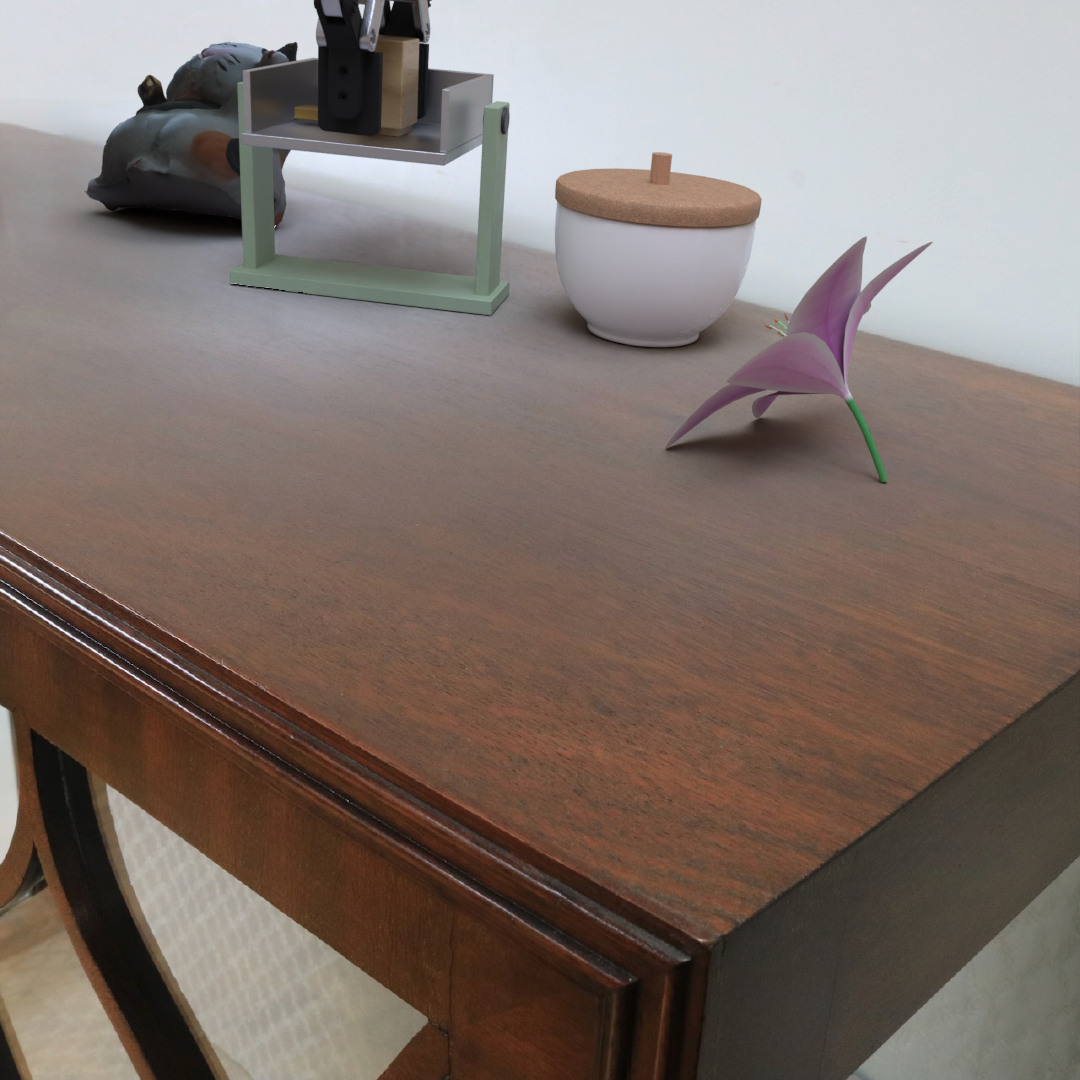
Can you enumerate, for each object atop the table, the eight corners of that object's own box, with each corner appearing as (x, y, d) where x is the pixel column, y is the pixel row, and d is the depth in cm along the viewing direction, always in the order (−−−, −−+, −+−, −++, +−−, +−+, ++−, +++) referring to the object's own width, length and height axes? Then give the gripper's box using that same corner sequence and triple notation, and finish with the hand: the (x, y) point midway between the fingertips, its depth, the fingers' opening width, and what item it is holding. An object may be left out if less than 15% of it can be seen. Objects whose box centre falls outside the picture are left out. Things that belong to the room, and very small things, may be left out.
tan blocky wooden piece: (417, 131, 69) (419, 38, 67) (401, 137, 66) (403, 41, 64) (307, 119, 69) (306, 28, 67) (286, 126, 67) (285, 30, 65)
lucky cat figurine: (68, 201, 86) (123, 13, 87) (229, 264, 93) (280, 88, 93) (120, 174, 74) (185, -46, 74) (303, 249, 80) (361, 46, 81)
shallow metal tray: (356, 108, 81) (357, 49, 79) (518, 124, 79) (521, 64, 78) (241, 144, 64) (239, 70, 62) (444, 165, 62) (447, 90, 61)
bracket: (262, 265, 74) (258, 75, 70) (508, 294, 72) (520, 101, 68) (229, 284, 70) (222, 83, 65) (490, 315, 68) (502, 110, 63)
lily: (884, 433, 58) (815, 240, 56) (1070, 421, 47) (992, 181, 45) (673, 539, 55) (593, 335, 53) (821, 553, 44) (726, 297, 42)
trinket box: (684, 302, 74) (705, 139, 70) (778, 356, 65) (807, 172, 61) (517, 307, 70) (528, 135, 66) (591, 365, 61) (610, 170, 57)
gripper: (367, -238, 67) (361, 102, 75) (234, -302, 52) (243, 135, 59) (501, -229, 66) (480, 115, 74) (406, -291, 51) (392, 152, 58)
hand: (375, 122), depth 67 cm, fingers open, 7 cm apart
